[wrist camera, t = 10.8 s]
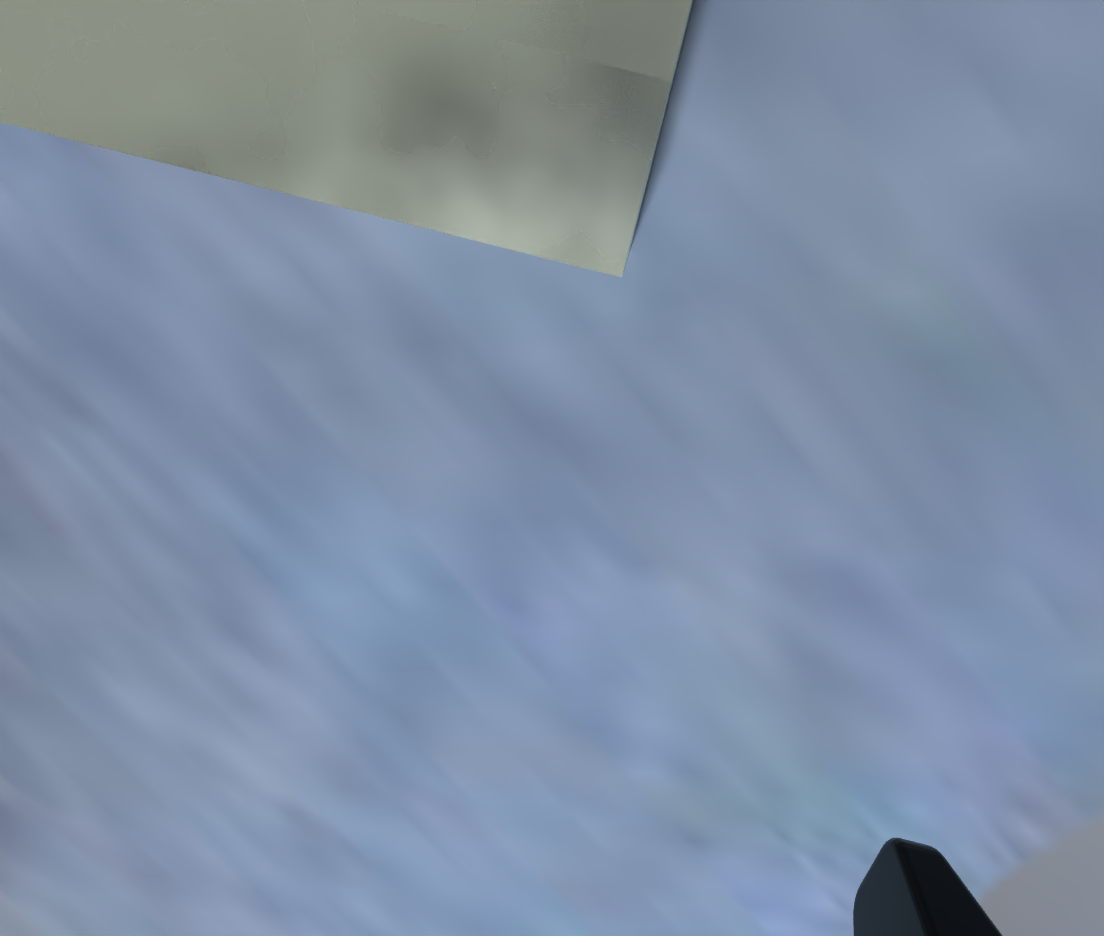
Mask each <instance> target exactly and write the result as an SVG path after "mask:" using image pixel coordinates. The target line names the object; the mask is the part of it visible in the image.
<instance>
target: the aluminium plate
mask: <svg viewBox="0 0 1104 936" xmlns="http://www.w3.org/2000/svg"><path fill="white" fill-rule="evenodd" d="M692 3H693V0H0V122H2V123H6V124H10V125H14V126H18V127H22V128H26V129H30V130H34V131H38V132H42V133H46V134H50V135H54V136H58V137H62V138H66V139H70V140H74V141H78V142H82V143H86V144H90V145H94V146H98V147H102V148H107V149H111V150H115V151H119V152H123V153H127V154H131V155H135V156H139V157H143V158H147V159H151V160H155V161H159V162H163V163H167V164H171V165H175V166H179V167H183V168H187V169H191V170H195V171H199V172H203V173H207V174H211V175H215V176H219V177H223V178H227V179H231V180H235V181H239V182H243V183H247V184H251V185H255V186H259V187H263V188H267V189H271V190H275V191H279V192H283V193H287V194H291V195H295V196H299V197H303V198H307V199H311V200H315V201H319V202H323V203H327V204H331V205H335V206H339V207H343V208H347V209H351V210H355V211H359V212H363V213H367V214H371V215H375V216H379V217H383V218H387V219H391V220H395V221H399V222H403V223H407V224H411V225H415V226H419V227H423V228H427V229H431V230H435V231H439V232H443V233H447V234H451V235H455V236H459V237H463V238H467V239H471V240H475V241H479V242H483V243H487V244H491V245H495V246H499V247H503V248H507V249H511V250H515V251H519V252H523V253H527V254H531V255H535V256H539V257H543V258H547V259H551V260H555V261H559V262H563V263H567V264H571V265H575V266H579V267H583V268H587V269H591V270H595V271H599V272H603V273H607V274H611V275H615V276H619V277H622V275H623V272H624V269H625V266H626V262H627V259H628V256H629V252H630V249H631V245H632V241H633V237H634V233H635V229H636V225H637V221H638V217H639V213H640V209H641V205H642V201H643V197H644V194H645V190H646V186H647V182H648V178H649V174H650V170H651V166H652V162H653V158H654V154H655V150H656V146H657V142H658V138H659V134H660V130H661V126H662V122H663V118H664V114H665V110H666V106H667V102H668V98H669V94H670V91H671V87H672V83H673V79H674V75H675V71H676V67H677V63H678V59H679V55H680V51H681V47H682V43H683V39H684V35H685V31H686V27H687V23H688V19H689V15H690V11H691V7H692Z"/></svg>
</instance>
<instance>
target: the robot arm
mask: <svg viewBox="0 0 1104 936" xmlns="http://www.w3.org/2000/svg"><path fill="white" fill-rule="evenodd" d="M853 924H854V936H1002V935H1001V933H1000V932H999V930H998V929H997V928H996V926H995V925H994V924H993V922H992V921H991V920H990V918H989V917H988V916H987V914H986V913H985V912H984V910H983V909H982V907H981V906H980V905H979V903H978V902H977V901H976V899H975V898H974V897H973V895H972V894H971V893H970V891H969V890H968V889H967V887H966V886H965V884H964V883H963V882H962V880H961V879H960V878H959V876H958V875H957V874H956V872H955V871H954V870H953V868H952V867H951V866H950V864H949V863H948V861H947V860H946V859H945V857H944V856H943V855H942V854H941V853H940V852H939V851H938V850H937V849H935V848H933V847H931V846H928V845H925V844H921V843H917V842H913V841H909V840H905V839H901V838H892V839H890V840H888V841H886V843H885V844H884V845H883V847H882V848H881V850H880V852H879V854H878V855H877V857H876V859H875V860H874V862H873V864H872V866H871V867H870V869H869V871H868V873H867V874H866V876H865V878H864V879H863V881H862V883H861V885H860V887H859V889H858V891H857V894H856V897H855V903H854V911H853Z"/></svg>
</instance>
